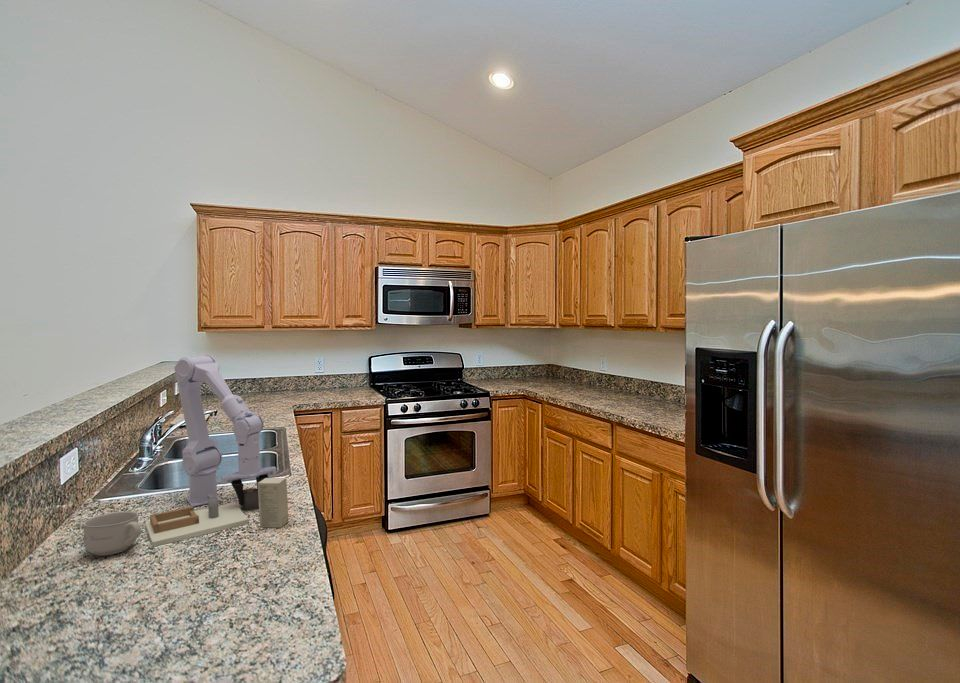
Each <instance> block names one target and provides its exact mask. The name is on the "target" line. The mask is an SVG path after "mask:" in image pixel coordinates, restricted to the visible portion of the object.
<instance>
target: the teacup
mask: <svg viewBox="0 0 960 683" xmlns="http://www.w3.org/2000/svg"><path fill="white" fill-rule="evenodd" d="M139 516H140V514H139V513H138V512H136V511H130V510H129V511H127V510H126V511H117V512H116V511H114V512H108V513H103V514H101V515H100V514H99V515H96V516H93V517H89V518H88V519H87V520H85V521H83V523H82V526H83V545H84V548H85V549H86V550H87V551H88V553H92V554H93V555H95V556H97V557H98V556H99V557H100V556H101V557H104V556H111V555H114V554H119V553H121V552H124V551H125V550H127V549H128V548H130V547H131V545H133V543H135V541H136V540H137V539H138V538H139V537H140V536H141V533H142V527H141V525H140V523H139Z"/></svg>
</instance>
